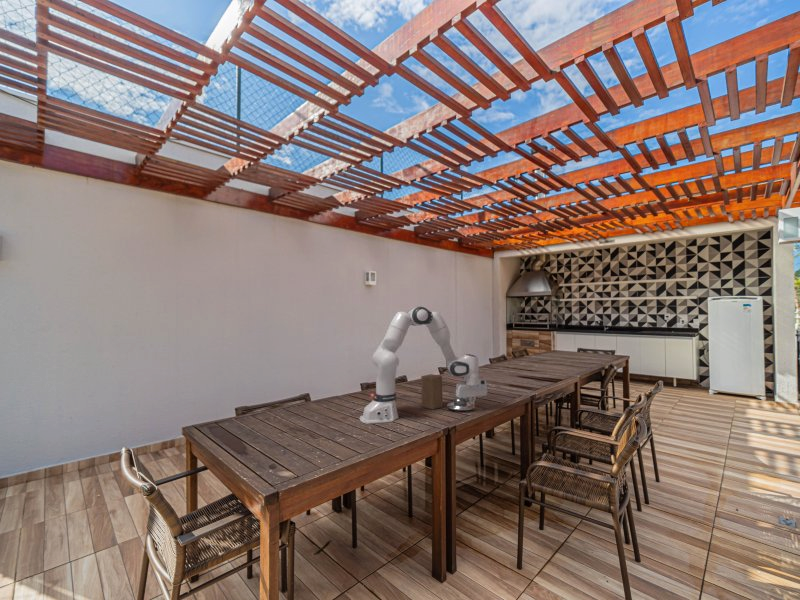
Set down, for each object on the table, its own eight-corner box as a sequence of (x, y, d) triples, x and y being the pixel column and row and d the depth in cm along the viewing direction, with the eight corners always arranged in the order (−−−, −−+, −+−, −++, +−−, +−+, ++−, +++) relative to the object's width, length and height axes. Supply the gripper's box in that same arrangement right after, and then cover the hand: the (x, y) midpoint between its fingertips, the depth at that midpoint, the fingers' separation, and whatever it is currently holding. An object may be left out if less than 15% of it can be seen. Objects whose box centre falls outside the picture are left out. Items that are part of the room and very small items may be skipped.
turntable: (470, 413, 212) (470, 403, 212) (443, 410, 220) (443, 400, 220) (477, 406, 227) (477, 396, 228) (452, 404, 235) (451, 394, 235)
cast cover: (464, 406, 217) (464, 398, 217) (452, 405, 221) (452, 397, 221) (468, 403, 225) (468, 396, 225) (456, 402, 228) (455, 394, 228)
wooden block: (432, 410, 223) (431, 377, 223) (421, 407, 230) (420, 375, 231) (443, 407, 229) (442, 375, 230) (431, 404, 237) (430, 373, 237)
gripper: (459, 383, 212) (459, 407, 211) (488, 380, 219) (488, 403, 219) (453, 381, 218) (453, 404, 217) (482, 379, 225) (482, 401, 224)
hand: (471, 404), depth 218 cm, fingers closed
